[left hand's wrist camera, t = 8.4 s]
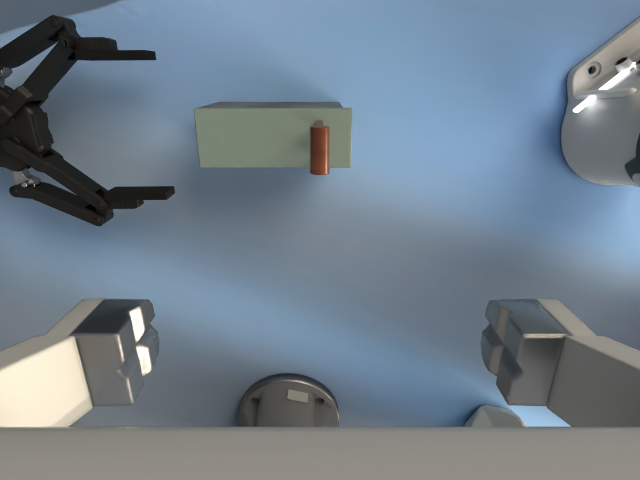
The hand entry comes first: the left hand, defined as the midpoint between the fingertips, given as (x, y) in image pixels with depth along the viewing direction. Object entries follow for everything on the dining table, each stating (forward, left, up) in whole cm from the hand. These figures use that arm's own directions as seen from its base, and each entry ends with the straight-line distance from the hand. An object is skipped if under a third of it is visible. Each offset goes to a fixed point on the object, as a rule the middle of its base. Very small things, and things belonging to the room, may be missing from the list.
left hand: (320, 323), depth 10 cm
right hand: (+10, -13, -35) cm, 38 cm away
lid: (+3, -3, -32) cm, 33 cm away
